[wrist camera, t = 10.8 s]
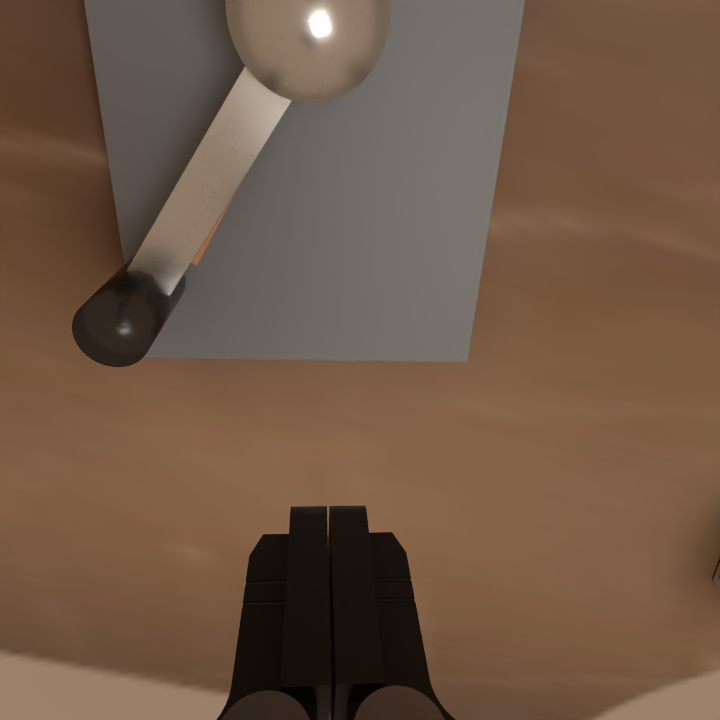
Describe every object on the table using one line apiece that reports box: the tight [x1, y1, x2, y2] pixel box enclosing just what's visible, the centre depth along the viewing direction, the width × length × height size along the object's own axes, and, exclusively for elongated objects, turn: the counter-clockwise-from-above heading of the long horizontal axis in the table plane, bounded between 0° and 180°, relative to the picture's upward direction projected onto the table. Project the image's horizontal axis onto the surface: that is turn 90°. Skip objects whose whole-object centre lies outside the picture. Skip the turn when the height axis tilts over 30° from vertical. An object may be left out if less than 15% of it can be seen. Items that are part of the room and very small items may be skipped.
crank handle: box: [72, 0, 390, 367], centre depth 19 cm, size 16×5×6 cm, turn 143°
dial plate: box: [84, 0, 525, 362], centre depth 23 cm, size 20×16×2 cm
